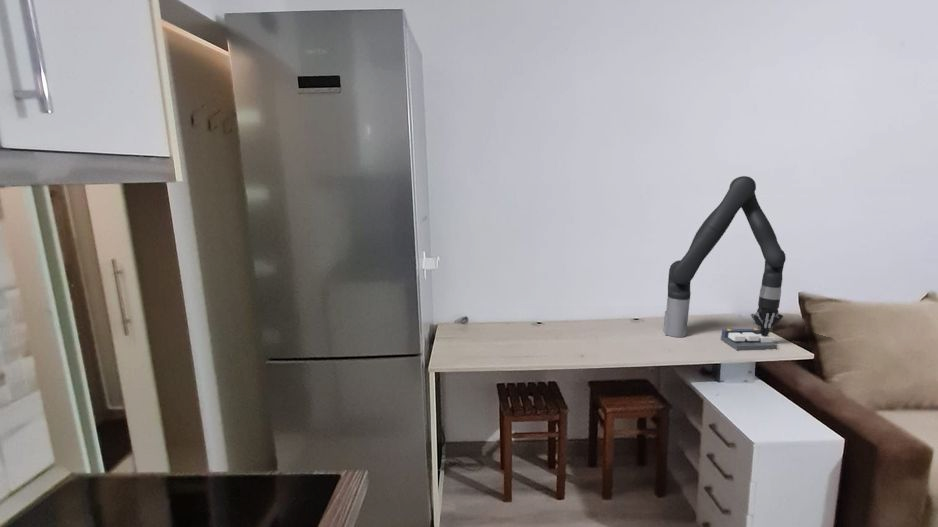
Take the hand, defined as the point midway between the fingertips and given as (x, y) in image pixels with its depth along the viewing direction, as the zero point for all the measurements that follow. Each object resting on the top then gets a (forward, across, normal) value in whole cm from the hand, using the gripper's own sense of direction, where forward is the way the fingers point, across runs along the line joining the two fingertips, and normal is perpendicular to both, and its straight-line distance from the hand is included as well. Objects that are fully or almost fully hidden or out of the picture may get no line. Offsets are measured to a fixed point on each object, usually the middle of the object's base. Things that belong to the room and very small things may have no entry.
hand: (764, 335), depth 211 cm
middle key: (+1, -6, 0) cm, 6 cm away
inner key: (+1, -12, 0) cm, 12 cm away
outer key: (+2, 0, 0) cm, 2 cm away
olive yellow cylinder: (+5, +13, +18) cm, 23 cm away
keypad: (+4, -6, +1) cm, 8 cm away
